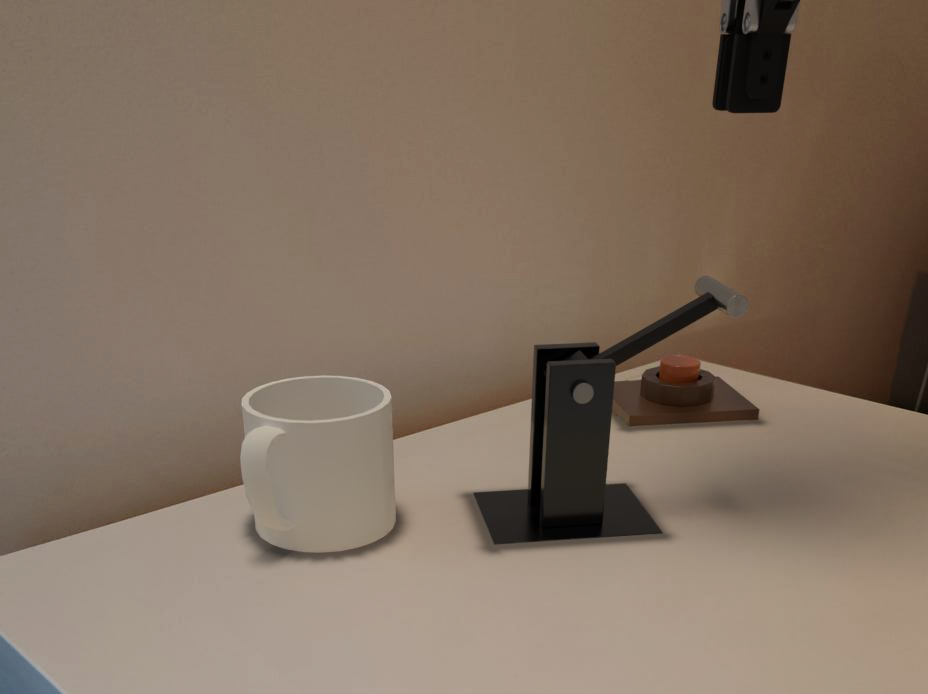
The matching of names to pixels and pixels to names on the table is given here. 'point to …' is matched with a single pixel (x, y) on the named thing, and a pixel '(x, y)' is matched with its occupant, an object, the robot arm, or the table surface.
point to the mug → (319, 462)
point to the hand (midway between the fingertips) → (745, 109)
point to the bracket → (567, 459)
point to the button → (679, 369)
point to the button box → (679, 401)
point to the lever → (676, 320)
